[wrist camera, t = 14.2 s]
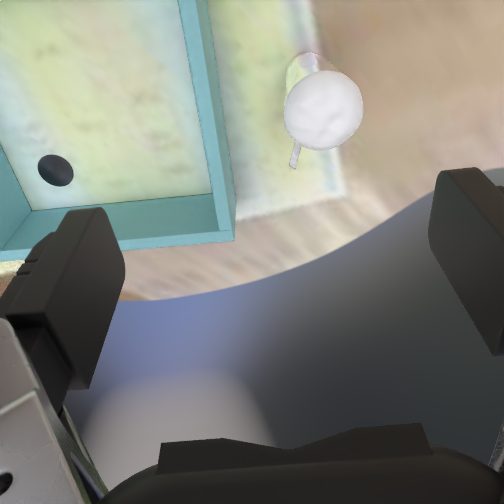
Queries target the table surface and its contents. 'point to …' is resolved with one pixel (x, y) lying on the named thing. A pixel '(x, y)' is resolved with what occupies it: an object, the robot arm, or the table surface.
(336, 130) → the milkshake
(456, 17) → the table surface
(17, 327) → the robot arm
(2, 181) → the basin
